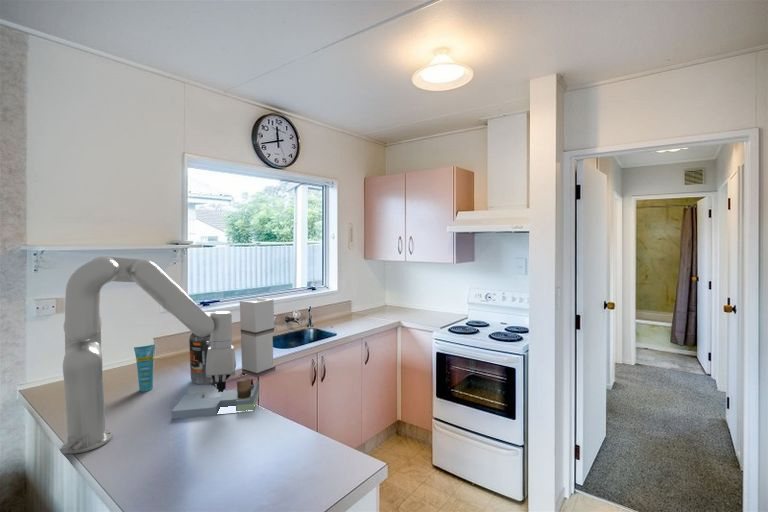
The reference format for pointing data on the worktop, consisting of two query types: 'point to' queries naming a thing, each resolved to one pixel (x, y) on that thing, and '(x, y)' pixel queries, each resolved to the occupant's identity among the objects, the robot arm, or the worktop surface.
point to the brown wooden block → (243, 388)
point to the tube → (145, 366)
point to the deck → (214, 403)
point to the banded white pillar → (257, 336)
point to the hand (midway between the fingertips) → (221, 390)
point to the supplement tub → (199, 359)
